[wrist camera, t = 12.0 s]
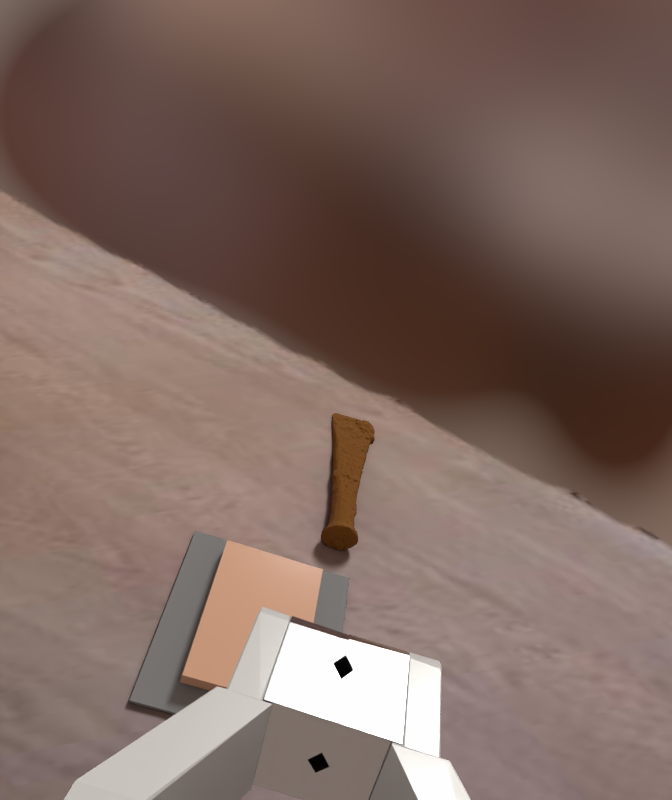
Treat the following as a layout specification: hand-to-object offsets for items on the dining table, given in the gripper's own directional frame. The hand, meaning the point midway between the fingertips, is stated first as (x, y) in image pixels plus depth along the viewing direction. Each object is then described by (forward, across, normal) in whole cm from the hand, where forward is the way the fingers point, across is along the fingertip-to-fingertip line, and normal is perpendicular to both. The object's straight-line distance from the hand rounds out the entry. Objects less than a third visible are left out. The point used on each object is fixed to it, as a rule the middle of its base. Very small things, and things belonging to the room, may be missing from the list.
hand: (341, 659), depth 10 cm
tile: (+23, -5, -32) cm, 39 cm away
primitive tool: (+48, -3, -27) cm, 56 cm away
